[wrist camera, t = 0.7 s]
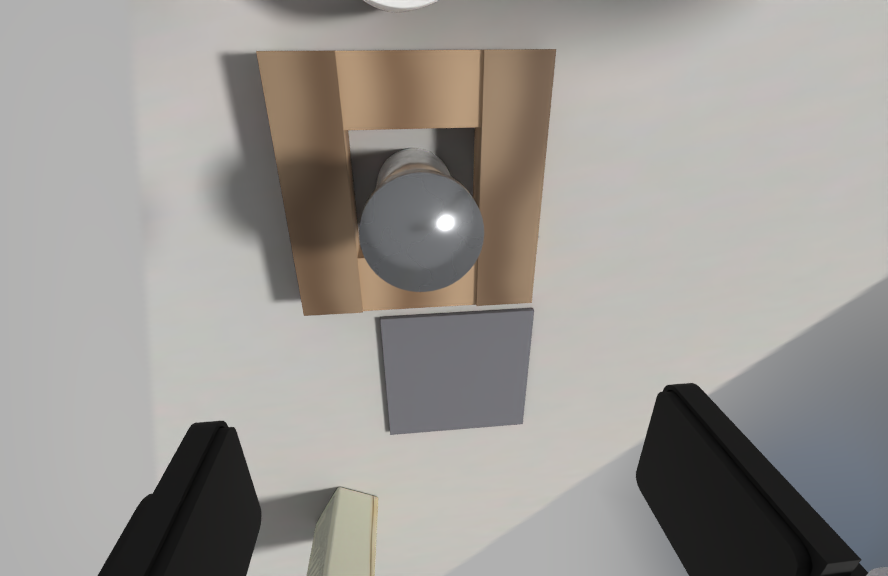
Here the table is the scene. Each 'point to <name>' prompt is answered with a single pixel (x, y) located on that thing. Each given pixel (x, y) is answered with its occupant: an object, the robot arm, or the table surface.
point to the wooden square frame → (408, 107)
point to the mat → (456, 369)
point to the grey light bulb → (420, 224)
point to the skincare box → (345, 536)
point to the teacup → (399, 4)
